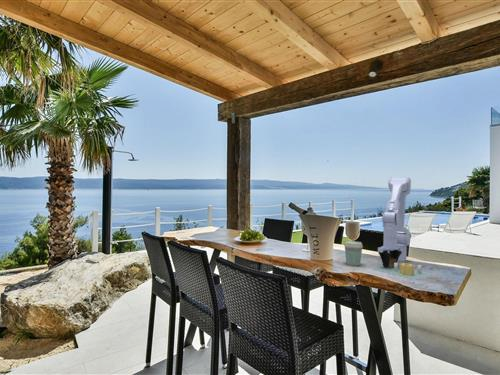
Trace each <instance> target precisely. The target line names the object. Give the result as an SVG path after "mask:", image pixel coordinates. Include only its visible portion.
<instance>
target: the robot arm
mask: <svg viewBox="0 0 500 375" xmlns="http://www.w3.org/2000/svg"><path fill="white" fill-rule="evenodd" d="M387 186H388V188H389V191H390V199H388V201H386V208H385V211H384V212H382V216H381V218H382V219H381V221H382V227H383V241H382V242H383V245H382V246H380V247H377V252H378V255H379V257H380V259H381V263H382V265H383V267H386V268H388V266H389V259H390V257H391V258H396V263H398V262H407V253H408V252H407V249H408V248H407V247H408V246H409V245H410V244H411V232H410V230H409V229H408V228H407V227H406V226H405V216H406V215H405V214H406V200H407V196H408V195H410V194H411V191H412V190H411V188H412V180H411V178H410V177H389V178H388V183H387Z"/></svg>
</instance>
